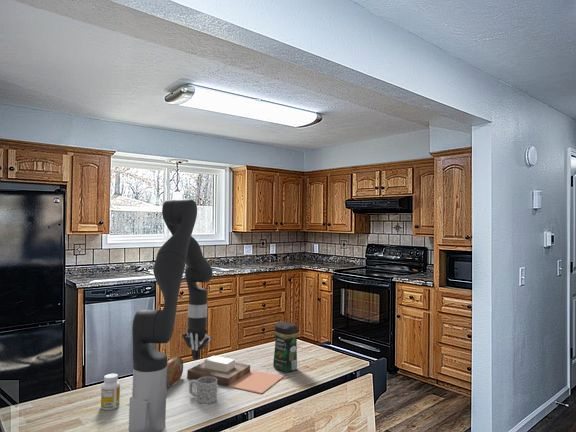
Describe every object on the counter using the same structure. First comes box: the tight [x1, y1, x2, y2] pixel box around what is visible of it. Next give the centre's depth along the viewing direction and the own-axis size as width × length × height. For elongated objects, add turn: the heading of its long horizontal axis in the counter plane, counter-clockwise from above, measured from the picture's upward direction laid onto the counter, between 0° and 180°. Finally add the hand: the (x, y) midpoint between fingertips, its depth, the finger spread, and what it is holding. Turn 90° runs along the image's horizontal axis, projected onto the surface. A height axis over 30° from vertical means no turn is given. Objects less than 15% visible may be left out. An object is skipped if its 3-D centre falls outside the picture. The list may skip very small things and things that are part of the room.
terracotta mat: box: [227, 370, 285, 395], centre depth 158 cm, size 18×14×1 cm
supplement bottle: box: [100, 373, 121, 411], centre depth 134 cm, size 5×5×10 cm
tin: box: [166, 356, 184, 389], centre depth 155 cm, size 15×3×8 cm, turn 168°
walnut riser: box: [186, 361, 251, 388], centre depth 164 cm, size 16×18×3 cm
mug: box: [188, 376, 218, 405], centre depth 142 cm, size 10×7×7 cm, turn 70°
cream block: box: [203, 355, 236, 372], centre depth 164 cm, size 6×10×3 cm, turn 66°
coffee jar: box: [272, 320, 299, 373], centre depth 174 cm, size 10×8×19 cm
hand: (196, 359), depth 168 cm, fingers closed
